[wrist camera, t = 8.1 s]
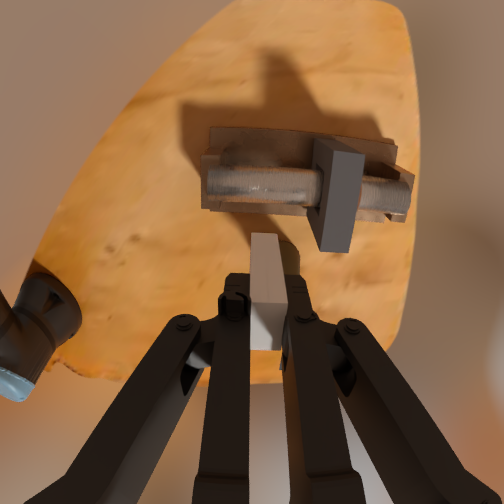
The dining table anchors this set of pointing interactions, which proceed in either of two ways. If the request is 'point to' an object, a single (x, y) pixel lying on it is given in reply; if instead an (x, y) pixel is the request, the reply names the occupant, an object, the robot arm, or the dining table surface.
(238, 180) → the pipe rig
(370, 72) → the dining table surface
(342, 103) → the dining table surface
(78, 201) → the dining table surface
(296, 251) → the cork
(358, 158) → the collar
